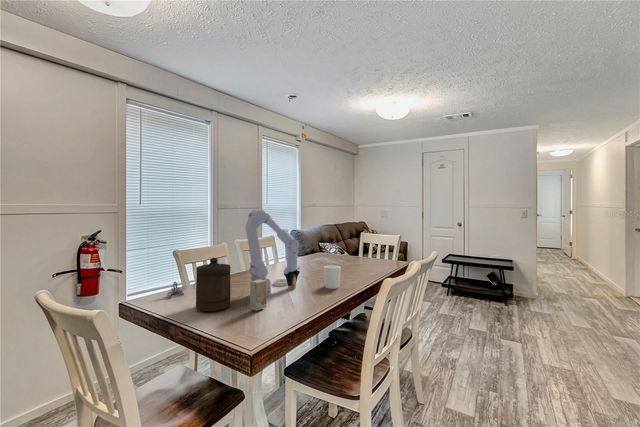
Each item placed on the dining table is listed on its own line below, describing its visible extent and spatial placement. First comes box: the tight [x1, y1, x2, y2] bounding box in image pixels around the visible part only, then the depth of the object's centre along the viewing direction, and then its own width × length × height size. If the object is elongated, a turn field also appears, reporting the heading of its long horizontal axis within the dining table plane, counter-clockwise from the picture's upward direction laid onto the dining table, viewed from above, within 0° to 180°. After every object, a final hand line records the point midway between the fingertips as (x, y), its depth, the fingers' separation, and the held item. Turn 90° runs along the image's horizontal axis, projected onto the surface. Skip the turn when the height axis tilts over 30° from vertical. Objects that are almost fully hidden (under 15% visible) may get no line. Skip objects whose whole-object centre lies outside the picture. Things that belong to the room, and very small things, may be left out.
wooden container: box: [195, 257, 231, 312], centre depth 134 cm, size 15×15×22 cm
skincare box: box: [249, 279, 267, 311], centre depth 131 cm, size 6×4×12 cm
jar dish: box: [272, 278, 288, 287], centre depth 173 cm, size 9×9×2 cm
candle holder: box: [323, 264, 342, 290], centre depth 167 cm, size 10×10×12 cm
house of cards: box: [166, 281, 185, 299], centre depth 152 cm, size 9×9×8 cm
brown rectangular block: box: [287, 274, 297, 291], centre depth 163 cm, size 4×4×8 cm
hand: (291, 284), depth 163 cm, fingers closed on brown rectangular block, 4 cm apart
